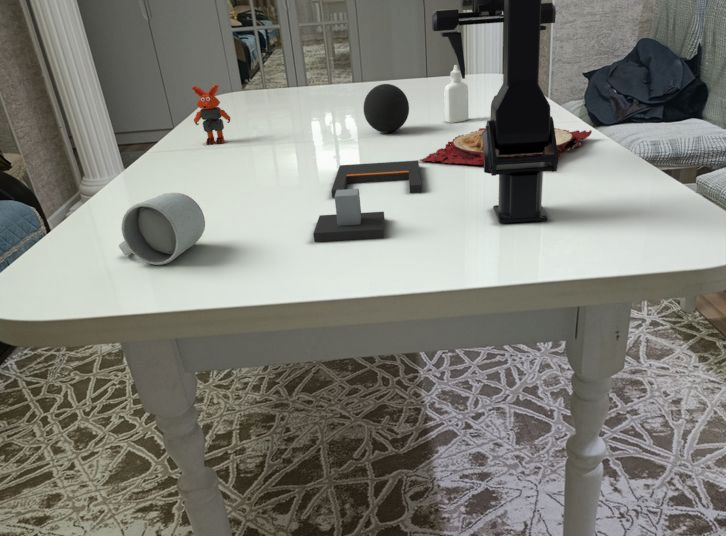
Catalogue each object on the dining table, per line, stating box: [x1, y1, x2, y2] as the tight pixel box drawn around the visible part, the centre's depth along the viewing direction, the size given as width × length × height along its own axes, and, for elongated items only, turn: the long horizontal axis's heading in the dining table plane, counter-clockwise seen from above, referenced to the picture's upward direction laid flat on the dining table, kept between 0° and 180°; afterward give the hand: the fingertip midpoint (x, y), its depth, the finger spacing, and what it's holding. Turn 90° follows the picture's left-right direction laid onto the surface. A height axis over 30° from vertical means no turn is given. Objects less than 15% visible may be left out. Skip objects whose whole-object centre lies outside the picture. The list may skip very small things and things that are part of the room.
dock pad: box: [331, 159, 422, 199], centre depth 106 cm, size 16×14×1 cm
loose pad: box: [313, 188, 386, 243], centre depth 84 cm, size 7×9×5 cm
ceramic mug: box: [118, 192, 206, 266], centre depth 80 cm, size 11×8×8 cm
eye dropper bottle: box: [443, 64, 469, 124], centre depth 145 cm, size 4×6×12 cm
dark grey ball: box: [363, 83, 410, 134], centre depth 139 cm, size 10×10×10 cm
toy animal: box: [191, 83, 231, 146], centre depth 140 cm, size 8×6×12 cm
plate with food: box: [419, 127, 593, 166], centre depth 119 cm, size 24×26×4 cm
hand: (491, 76), depth 104 cm, fingers open, 9 cm apart
